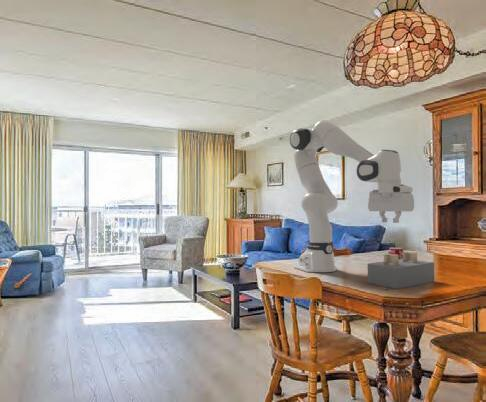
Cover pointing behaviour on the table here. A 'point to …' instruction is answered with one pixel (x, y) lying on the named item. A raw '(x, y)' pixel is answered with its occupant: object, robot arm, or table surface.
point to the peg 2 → (410, 257)
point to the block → (401, 274)
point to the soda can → (396, 251)
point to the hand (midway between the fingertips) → (390, 222)
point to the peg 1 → (391, 259)
